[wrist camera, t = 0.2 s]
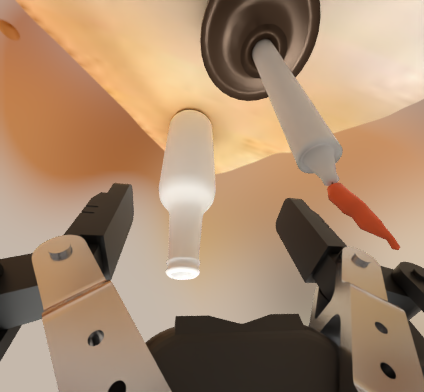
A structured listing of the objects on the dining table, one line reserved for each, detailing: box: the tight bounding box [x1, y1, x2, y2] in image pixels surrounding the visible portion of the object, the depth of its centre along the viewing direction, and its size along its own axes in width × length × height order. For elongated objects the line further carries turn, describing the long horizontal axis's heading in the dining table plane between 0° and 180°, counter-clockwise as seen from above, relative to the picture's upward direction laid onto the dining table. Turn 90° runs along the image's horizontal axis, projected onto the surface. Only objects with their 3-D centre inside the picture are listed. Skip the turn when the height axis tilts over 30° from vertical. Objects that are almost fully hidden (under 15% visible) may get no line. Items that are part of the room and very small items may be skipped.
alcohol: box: [159, 110, 216, 280], centre depth 33 cm, size 9×9×30 cm
